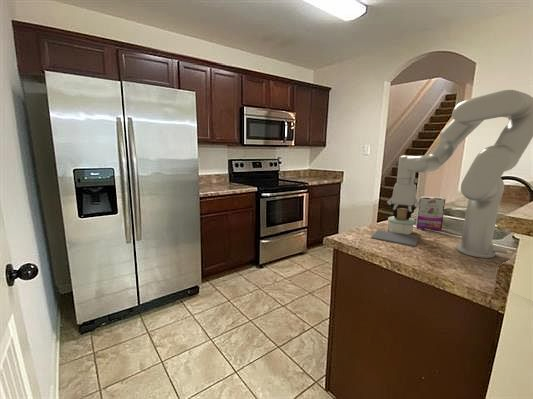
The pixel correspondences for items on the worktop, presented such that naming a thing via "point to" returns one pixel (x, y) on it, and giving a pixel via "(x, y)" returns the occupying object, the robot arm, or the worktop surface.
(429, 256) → the worktop surface
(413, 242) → the mat
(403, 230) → the bowl
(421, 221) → the candy bar box
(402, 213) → the lid
